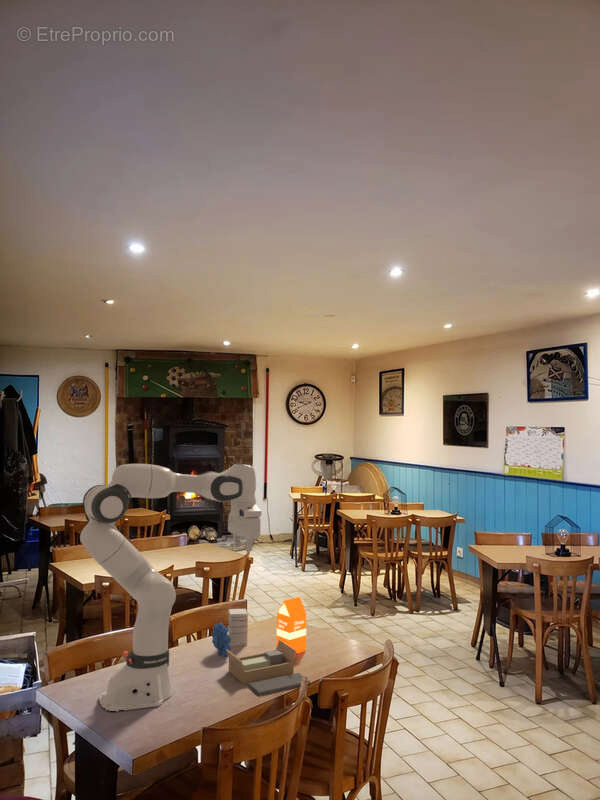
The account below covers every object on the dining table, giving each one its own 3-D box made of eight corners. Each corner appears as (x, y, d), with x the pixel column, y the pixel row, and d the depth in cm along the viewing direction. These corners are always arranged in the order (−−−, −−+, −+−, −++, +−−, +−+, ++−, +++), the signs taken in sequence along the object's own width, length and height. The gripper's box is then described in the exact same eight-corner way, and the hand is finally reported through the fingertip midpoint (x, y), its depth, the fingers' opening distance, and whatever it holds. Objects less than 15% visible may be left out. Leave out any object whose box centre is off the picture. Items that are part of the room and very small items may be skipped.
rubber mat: (259, 695, 196) (259, 692, 196) (248, 686, 203) (249, 683, 203) (309, 684, 205) (309, 681, 205) (298, 675, 212) (298, 672, 212)
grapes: (203, 653, 233) (204, 621, 234) (218, 649, 237) (218, 618, 238) (220, 662, 224) (220, 629, 225) (235, 658, 228) (235, 625, 229)
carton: (240, 685, 204) (240, 661, 204) (225, 671, 215) (225, 649, 216) (296, 673, 215) (296, 650, 215) (279, 660, 226) (279, 639, 227)
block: (244, 678, 209) (244, 661, 210) (238, 674, 213) (239, 656, 214) (282, 670, 217) (282, 653, 217) (276, 666, 221) (276, 649, 221)
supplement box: (227, 640, 248) (228, 608, 249) (245, 639, 250) (246, 608, 250) (229, 646, 241) (229, 614, 242) (247, 645, 242) (248, 613, 243)
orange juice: (276, 650, 237) (276, 598, 238) (293, 645, 243) (293, 594, 244) (289, 656, 231) (290, 602, 232) (306, 650, 237) (306, 598, 238)
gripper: (223, 506, 222) (223, 544, 221) (247, 513, 204) (246, 554, 204) (239, 505, 225) (239, 543, 224) (263, 512, 207) (263, 552, 207)
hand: (243, 548), depth 214 cm, fingers open, 8 cm apart
